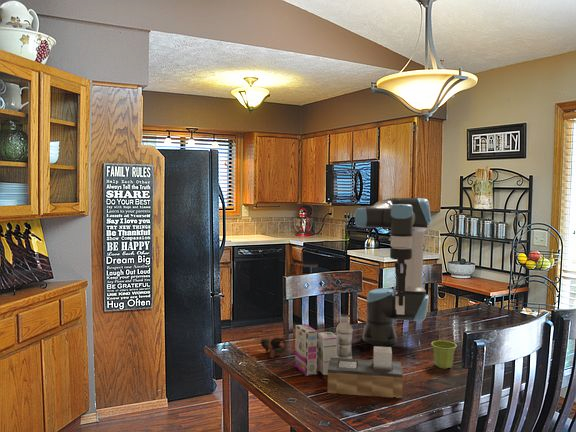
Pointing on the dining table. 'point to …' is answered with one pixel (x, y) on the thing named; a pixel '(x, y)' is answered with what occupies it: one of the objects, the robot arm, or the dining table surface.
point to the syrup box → (326, 350)
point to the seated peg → (347, 364)
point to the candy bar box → (306, 349)
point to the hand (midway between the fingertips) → (399, 311)
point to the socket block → (364, 379)
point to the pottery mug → (274, 346)
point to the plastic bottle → (344, 337)
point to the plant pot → (443, 353)
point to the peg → (382, 358)
